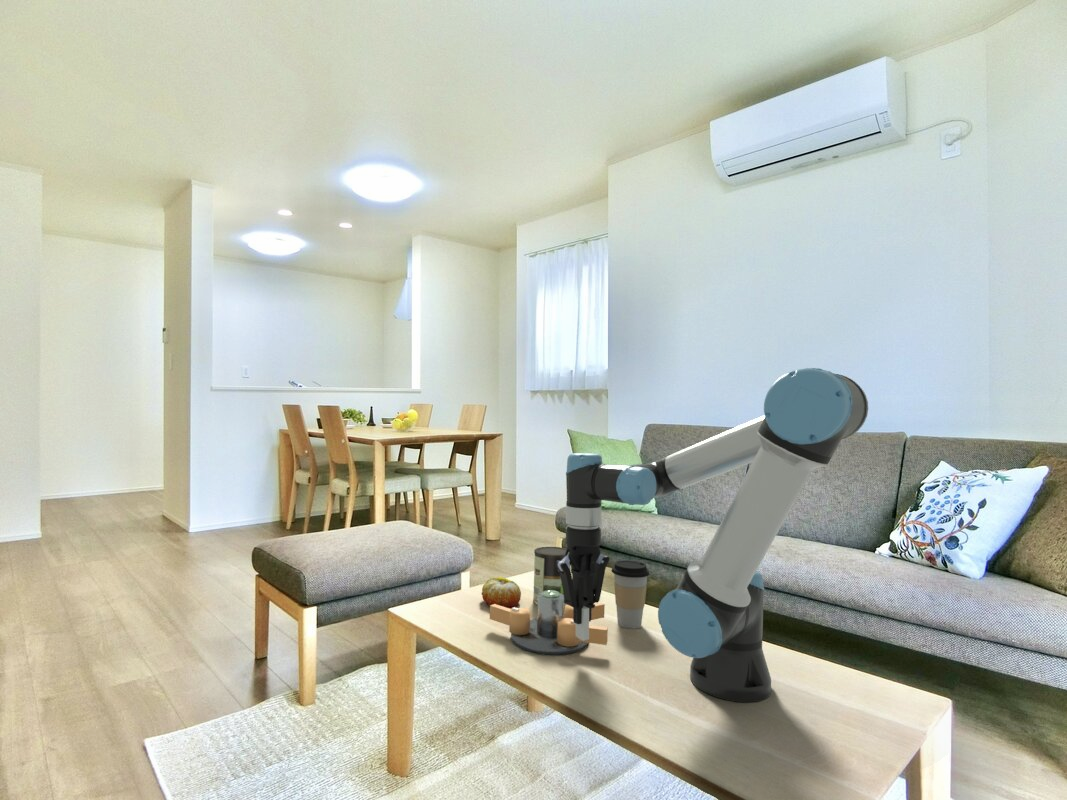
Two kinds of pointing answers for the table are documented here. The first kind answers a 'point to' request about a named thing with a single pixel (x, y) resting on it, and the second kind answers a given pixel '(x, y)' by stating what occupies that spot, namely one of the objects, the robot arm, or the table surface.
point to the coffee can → (547, 570)
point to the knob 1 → (512, 618)
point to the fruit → (501, 592)
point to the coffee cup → (630, 591)
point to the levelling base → (543, 643)
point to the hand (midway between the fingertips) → (582, 637)
